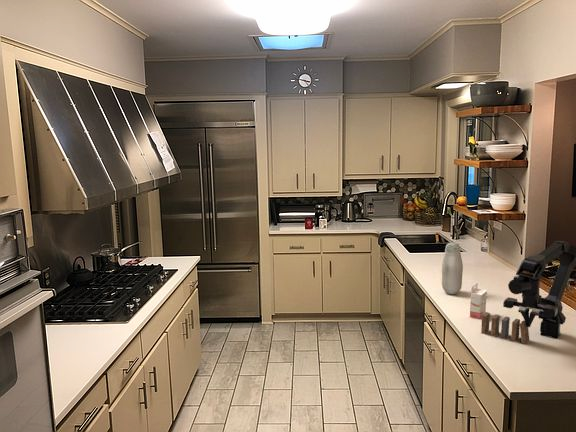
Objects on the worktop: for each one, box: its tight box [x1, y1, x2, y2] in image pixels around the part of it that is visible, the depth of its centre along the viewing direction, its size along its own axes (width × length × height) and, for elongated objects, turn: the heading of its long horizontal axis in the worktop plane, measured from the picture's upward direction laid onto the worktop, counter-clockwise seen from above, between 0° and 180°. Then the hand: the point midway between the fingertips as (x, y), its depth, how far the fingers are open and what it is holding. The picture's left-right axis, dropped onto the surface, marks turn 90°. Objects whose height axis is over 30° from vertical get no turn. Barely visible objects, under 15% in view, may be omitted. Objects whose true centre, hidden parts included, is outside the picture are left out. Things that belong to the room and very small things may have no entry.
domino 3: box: [510, 318, 521, 343], centre depth 190 cm, size 2×5×8 cm, turn 139°
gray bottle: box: [441, 241, 464, 295], centre depth 246 cm, size 10×10×28 cm
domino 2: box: [490, 313, 501, 338], centre depth 195 cm, size 2×5×8 cm, turn 139°
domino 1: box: [480, 311, 491, 335], centre depth 197 cm, size 2×5×8 cm, turn 139°
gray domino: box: [500, 316, 511, 340], centre depth 192 cm, size 2×5×8 cm, turn 139°
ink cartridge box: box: [469, 282, 488, 320], centre depth 215 cm, size 9×5×15 cm, turn 141°
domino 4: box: [519, 319, 530, 345], centre depth 187 cm, size 2×5×8 cm, turn 138°
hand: (528, 327), depth 186 cm, fingers closed
